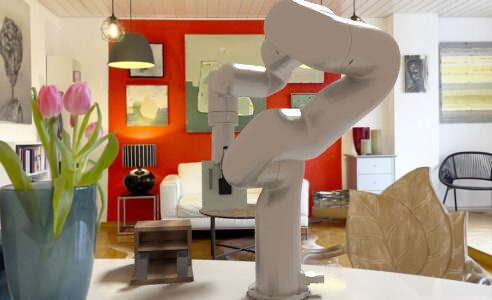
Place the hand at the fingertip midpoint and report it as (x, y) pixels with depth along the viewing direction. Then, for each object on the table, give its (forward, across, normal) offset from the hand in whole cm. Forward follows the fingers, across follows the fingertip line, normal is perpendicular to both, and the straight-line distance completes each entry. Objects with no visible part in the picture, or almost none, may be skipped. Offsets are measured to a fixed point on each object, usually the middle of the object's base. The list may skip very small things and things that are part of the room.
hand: (224, 193), depth 104 cm
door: (+4, 0, 0) cm, 4 cm away
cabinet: (+19, -2, -15) cm, 24 cm away
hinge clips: (+19, +4, -15) cm, 25 cm away
